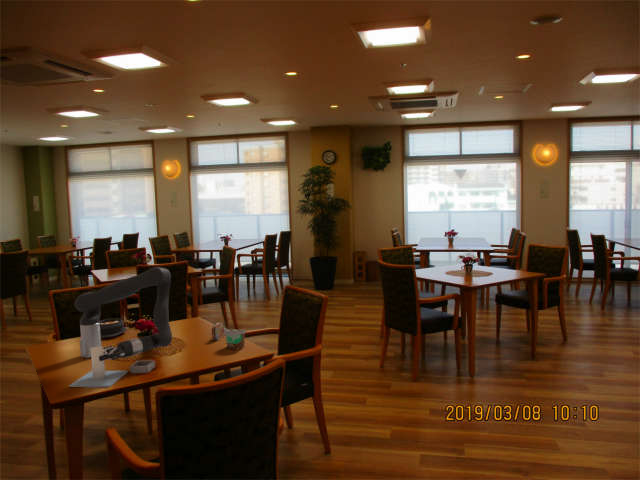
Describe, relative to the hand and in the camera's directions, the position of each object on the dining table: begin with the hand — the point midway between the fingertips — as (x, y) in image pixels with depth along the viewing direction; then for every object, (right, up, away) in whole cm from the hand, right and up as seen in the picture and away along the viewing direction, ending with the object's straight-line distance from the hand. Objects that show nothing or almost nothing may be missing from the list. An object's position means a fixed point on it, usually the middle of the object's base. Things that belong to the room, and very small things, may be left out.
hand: (95, 356), depth 222 cm
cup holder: (+17, -9, +12) cm, 23 cm away
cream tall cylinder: (+1, -10, +2) cm, 10 cm away
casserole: (-26, -5, +78) cm, 83 cm away
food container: (+55, -5, +41) cm, 68 cm away
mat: (+1, -11, +2) cm, 11 cm away
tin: (+43, -4, +62) cm, 75 cm away
